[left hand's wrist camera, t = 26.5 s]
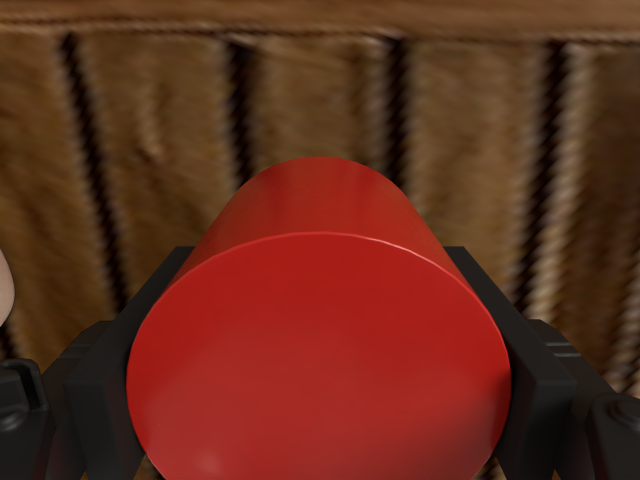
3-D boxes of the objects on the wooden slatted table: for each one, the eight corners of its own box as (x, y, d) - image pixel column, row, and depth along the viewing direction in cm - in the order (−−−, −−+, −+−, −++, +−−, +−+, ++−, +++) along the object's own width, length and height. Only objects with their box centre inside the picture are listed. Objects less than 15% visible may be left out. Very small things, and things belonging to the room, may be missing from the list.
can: (466, 284, 16) (577, 443, 9) (298, 384, 17) (284, 582, 11) (346, 107, 13) (373, 138, 7) (166, 241, 15) (40, 377, 8)
